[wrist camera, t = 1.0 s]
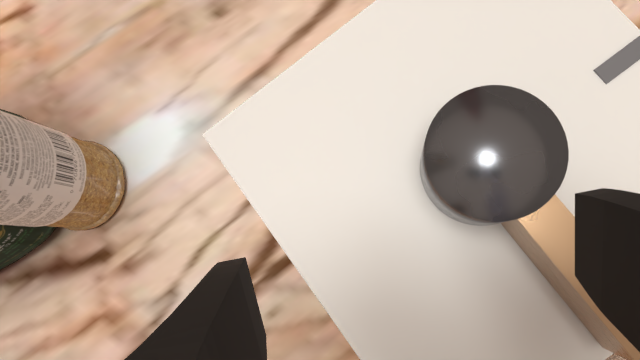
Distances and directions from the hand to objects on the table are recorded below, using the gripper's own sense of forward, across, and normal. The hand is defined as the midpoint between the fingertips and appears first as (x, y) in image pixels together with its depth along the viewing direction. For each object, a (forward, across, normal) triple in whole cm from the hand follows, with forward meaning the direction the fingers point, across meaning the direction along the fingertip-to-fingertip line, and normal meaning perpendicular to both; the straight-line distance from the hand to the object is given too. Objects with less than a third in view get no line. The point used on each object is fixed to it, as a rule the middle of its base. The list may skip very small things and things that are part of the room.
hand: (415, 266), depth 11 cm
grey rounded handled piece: (+9, -6, +5) cm, 12 cm away
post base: (+12, -5, +3) cm, 13 cm away
